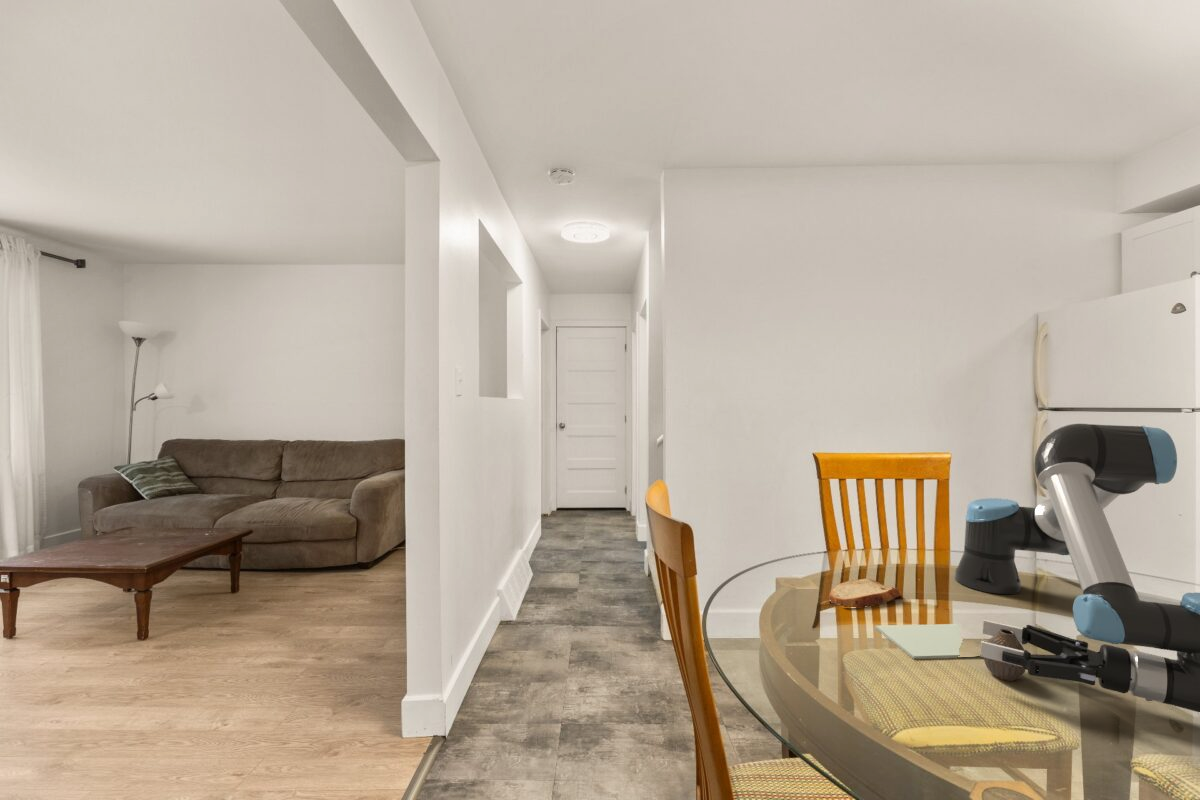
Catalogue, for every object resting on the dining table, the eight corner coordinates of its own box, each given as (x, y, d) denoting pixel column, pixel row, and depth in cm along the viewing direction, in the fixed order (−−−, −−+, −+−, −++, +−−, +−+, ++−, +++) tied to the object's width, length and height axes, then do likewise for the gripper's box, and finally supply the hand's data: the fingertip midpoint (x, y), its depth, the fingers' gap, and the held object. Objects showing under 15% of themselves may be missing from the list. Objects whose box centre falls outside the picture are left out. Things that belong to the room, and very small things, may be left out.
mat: (957, 626, 138) (957, 623, 138) (1004, 656, 124) (1004, 653, 124) (875, 628, 136) (875, 625, 136) (913, 659, 122) (913, 656, 122)
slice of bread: (830, 608, 147) (831, 593, 147) (823, 582, 164) (824, 569, 164) (910, 619, 142) (911, 603, 142) (895, 591, 159) (896, 577, 159)
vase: (974, 666, 119) (977, 623, 119) (1006, 666, 120) (1009, 623, 119) (1000, 685, 113) (1003, 640, 112) (1034, 684, 113) (1038, 639, 113)
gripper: (1139, 725, 96) (978, 681, 109) (1117, 665, 116) (982, 633, 128) (1143, 679, 96) (981, 640, 108) (1120, 627, 115) (985, 599, 127)
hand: (981, 637), depth 118 cm, fingers open, 11 cm apart
